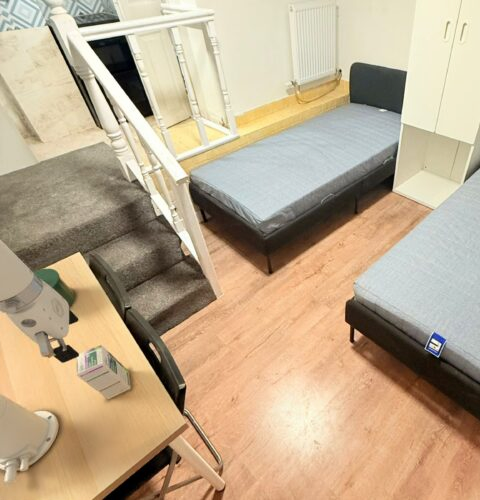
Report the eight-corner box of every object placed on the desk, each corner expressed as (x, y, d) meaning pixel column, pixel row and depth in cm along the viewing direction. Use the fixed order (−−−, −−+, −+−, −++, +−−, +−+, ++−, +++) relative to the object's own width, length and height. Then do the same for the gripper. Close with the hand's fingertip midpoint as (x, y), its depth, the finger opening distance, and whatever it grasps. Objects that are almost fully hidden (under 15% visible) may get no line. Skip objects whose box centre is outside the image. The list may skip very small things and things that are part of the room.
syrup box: (131, 388, 87) (104, 362, 77) (107, 400, 85) (75, 375, 75) (128, 370, 90) (102, 343, 80) (105, 381, 88) (75, 355, 78)
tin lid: (65, 286, 101) (56, 276, 98) (17, 310, 95) (6, 301, 92) (54, 264, 108) (46, 254, 104) (9, 286, 102) (-2, 276, 98)
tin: (79, 303, 107) (62, 285, 100) (38, 325, 102) (17, 307, 95) (69, 283, 113) (52, 265, 107) (30, 303, 108) (10, 284, 101)
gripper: (37, 318, 55) (91, 365, 68) (43, 253, 66) (88, 304, 79) (-17, 338, 53) (49, 383, 65) (-2, 268, 64) (53, 317, 76)
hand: (71, 340), depth 72 cm, fingers open, 9 cm apart
